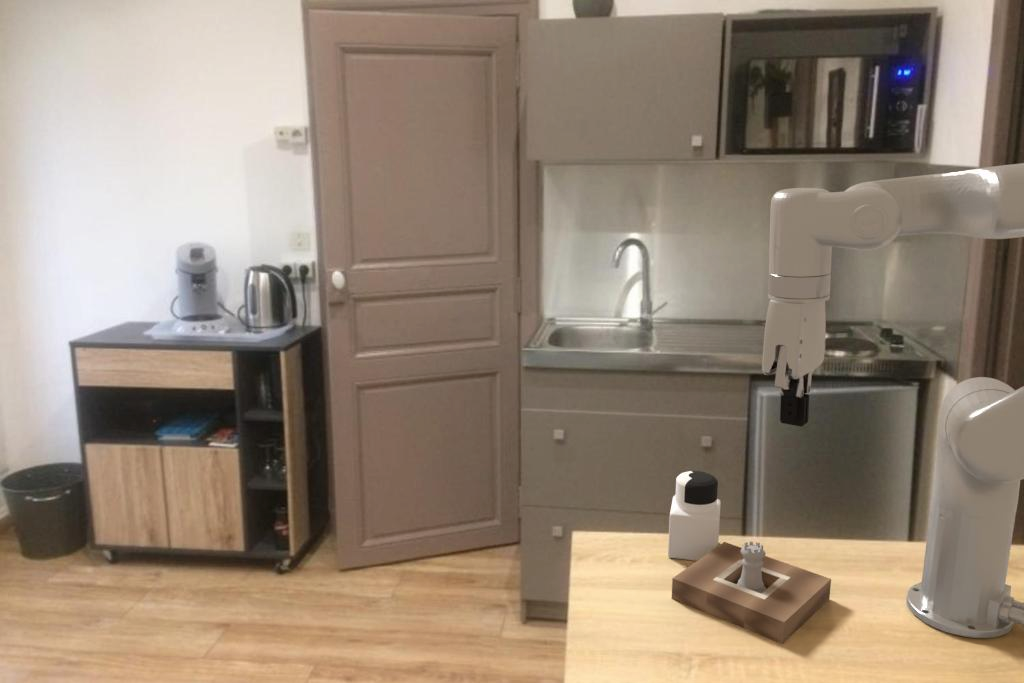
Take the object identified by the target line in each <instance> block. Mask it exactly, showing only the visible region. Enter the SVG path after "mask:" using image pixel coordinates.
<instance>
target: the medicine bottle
mask: <svg viewBox="0 0 1024 683" xmlns="http://www.w3.org/2000/svg"><path fill="white" fill-rule="evenodd" d="M718 487H719V481H718V479H717V478H716V477H715V476H714V475H712V474H710V473H708V472H705V471H701V470H689V471H685V472H681V473H680V474H678V476H677V477H676V479H675V494H674V495H673V496H672V501H671V507H670V512H669V519H668V520H669V521H668V522H669V524H668V547H667V556H668V558H670V559H679V560H686V561H687V560H688V561H695V562H696V561H698V560H699V559H701V558H702V557H703V556H705V555H706V554H708V553H709V552H711V551H712V550H713V549H715V548H716V547H718V546H719V536H720V523H721V522H720V518H721V505H722V503H721V500H720V499H718Z"/></svg>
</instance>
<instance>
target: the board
mask: <svg viewBox="0 0 1024 683" xmlns="http://www.w3.org/2000/svg"><path fill="white" fill-rule="evenodd" d="M742 548H743V547H740V546H737V545H735V544H731V543H729V542H726V541H723V542H722V543H721V544H718V547H716V548H715V549H713V550H712V551H711V552H709V553H708V554H706V555H705V556H703V557H702V558H701V559H699V560H698V561H695V562H694V563H692V564H690V565H689V566H687V568H685V569H684V570H682V571H680V572H679V573H678V574H676V575H675V576H674V577H672V578H671V579H672V580H671V581H672V582H671V583H672V584H671V600H672V599H673V600H675V601H678V602H680V603H683V604H685V605H687V606H689V607H692V608H695V609H697V610H700V611H702V612H705V613H706V612H707V614H709V615H711V616H714V617H717V618H718V619H721V620H724V621H726V622H728V623H731V624H733V625H735V626H738V627H741V628H743V629H746V630H748V631H749V632H753V633H756V634H757V635H761V636H763V637H765V638H767V639H770V640H773V641H775V642H777V643H780V644H782V645H783V644H784V643H785V642H786V641H787V640H788V639H789V638H790V637H791V636H793V635H794V633H795V632H796V631H798V630H799V628H801V627H802V626H803V625H804V624H805V623H806V622H807V621H808V620H809V619H810V618H811V617H812V616H813V615H814V614H816V613H817V611H819V610H820V608H822V607H823V606H824V605H825V604H826V603H827V602H828V601H829V600H830V596H831V585H832V578H830V577H827V576H825V575H821V574H818V573H815V572H813V571H810V570H807V569H804V568H801V567H798V566H795V565H792V564H789V563H786V562H784V561H780V560H779V559H778V560H777V559H775V558H772V557H769V556H766V555H765V556H764V557H763V558H762V562H763V566H762V567H761V573H762V581H763V583H764V586H765V588H766V590H765V591H764V592H762V593H758V592H755V591H753V590H750V589H747V588H745V587H742V586H739V585H737V584H736V583H738V580H739V579H740V578H741V574H742V569H743V564H742V559H744V557H743V555H742V554H741V552H740V551H741V549H742Z"/></svg>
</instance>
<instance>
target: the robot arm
mask: <svg viewBox="0 0 1024 683" xmlns="http://www.w3.org/2000/svg"><path fill="white" fill-rule="evenodd" d="M769 212H770V214H769V216H770V218H769V219H770V220H769V247H768V248H769V254H768V255H769V256H768V285H767V286H768V287H767V288H768V289H767V290H768V291H767V298H768V299H769V302H768V306H767V311H766V312H767V314H766V318H765V326H764V335H763V336H764V337H763V347H762V362H761V363H762V364H761V369H762V370H761V371H762V372H763V374H764V375H765V376H770V375H772V374H774V373H775V379H774V389H779V396H780V411H779V415H780V416H779V421H780V423H781V424H784V425H790V426H796V427H804V426H805V425H806V424H808V422H809V413H810V412H809V411H810V410H809V409H810V392H811V387H812V376H813V373H814V372H815V370H816V369H817V368H819V367H820V366H821V365H822V364H823V362H824V359H825V355H826V354H825V352H826V338H827V337H826V335H827V334H826V332H827V330H826V328H827V327H826V325H827V324H826V322H827V321H826V316H827V315H826V302H827V301H828V300H830V299H831V295H830V294H831V278H832V277H831V276H832V273H831V272H832V257H833V256H832V254H833V252H832V251H833V248H841V249H848V250H854V251H855V250H856V251H875V250H879V249H881V248H884V247H886V246H887V245H889V244H890V243H891V242H893V241H894V240H895V239H896V237H903V236H904V237H905V236H913V235H926V234H927V235H929V234H931V235H932V234H945V235H946V234H950V235H959V236H964V237H965V236H966V237H971V238H976V239H983V240H986V239H987V240H988V239H989V240H1007V239H1014V238H1015V239H1016V238H1024V162H1022V163H1014V164H1013V163H1012V164H1003V165H995V166H987V167H986V166H985V167H979V168H972V169H965V170H961V171H953V172H944V173H933V174H924V175H923V174H922V175H916V176H914V175H913V176H906V177H904V176H903V177H897V178H889V179H888V178H887V179H880V180H872V181H865V182H864V181H863V182H860V183H857V184H854V185H851V186H850V187H848V188H847V189H846V190H844V191H835V192H830V191H829V190H827V189H825V188H818V187H795V188H792V187H791V188H785V189H780V190H778V191H776V192H774V194H773V196H772V197H771V201H770V211H769ZM937 420H938V421H937V439H936V440H937V442H936V461H935V469H934V470H935V472H934V480H933V490H932V495H931V502H930V511H929V518H928V526H927V535H926V543H925V551H924V559H923V568H922V575H921V576H922V577H921V582H918V583H915V584H913V585H912V586H911V587H909V589H908V590H907V594H906V604H907V607H908V610H910V611H911V613H912V614H913V615H914V616H916V617H917V619H919V620H920V621H922V622H923V623H925V624H926V625H927V624H928V625H929V626H931V627H933V628H935V629H938V630H940V631H943V632H944V633H945V632H946V633H949V634H951V635H956V636H958V637H959V636H960V637H965V638H974V639H991V638H996V637H1001V636H1004V635H1006V634H1008V633H1009V632H1010V631H1011V630H1012V629H1013V627H1014V624H1015V623H1016V624H1018V625H1021V626H1023V627H1024V601H1023V602H1022V601H1020V600H1019V601H1018V600H1016V599H1015V597H1013V596H1011V590H1012V585H1008V584H1006V580H1007V575H1008V567H1009V562H1010V554H1011V547H1012V543H1013V542H1012V541H1013V535H1014V534H1013V533H1014V528H1015V522H1016V514H1017V511H1018V510H1017V509H1018V503H1019V497H1020V485H1021V481H1022V480H1024V385H1023V386H1021V387H1020V388H1017V389H1014V388H1013V387H1011V386H1010V385H1009V384H1007V383H1005V382H1003V381H1001V380H999V379H997V378H992V377H986V376H979V377H972V378H968V379H964V380H963V381H962V380H961V381H960V382H959V383H957V384H956V385H955V386H953V387H952V388H951V389H950V390H949V391H948V392H947V393H946V395H945V397H944V398H943V400H942V402H941V404H940V408H939V412H938V419H937Z"/></svg>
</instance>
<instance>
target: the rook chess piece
mask: <svg viewBox="0 0 1024 683" xmlns="http://www.w3.org/2000/svg"><path fill="white" fill-rule="evenodd" d="M741 548H742V549H741V551H740V552H741V554H742V555H743V557H744V559H742V564H743V569H742V574H741V578H740V579H739V580H738V583H736V584H737V585H739V586H742V587H745V588H747V589H750V590H753V591H755V592H758V593H762V592H764V591H765V590H766V588H765V586H764V583H763V581H762V573H761V567H762V566H763V562H762V558H763V557H764V556H766V555H767V553H766V551H765V549H764V546H763V544H761V543H760V542H757V541H755V544H754V541H750V540H749V542H746V541H745V542H744V543H743V547H741Z"/></svg>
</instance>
